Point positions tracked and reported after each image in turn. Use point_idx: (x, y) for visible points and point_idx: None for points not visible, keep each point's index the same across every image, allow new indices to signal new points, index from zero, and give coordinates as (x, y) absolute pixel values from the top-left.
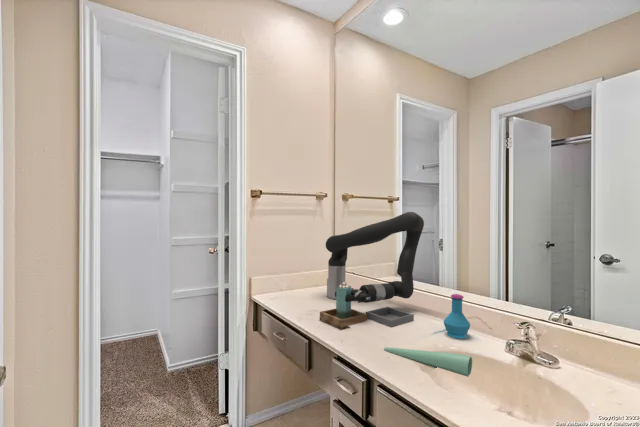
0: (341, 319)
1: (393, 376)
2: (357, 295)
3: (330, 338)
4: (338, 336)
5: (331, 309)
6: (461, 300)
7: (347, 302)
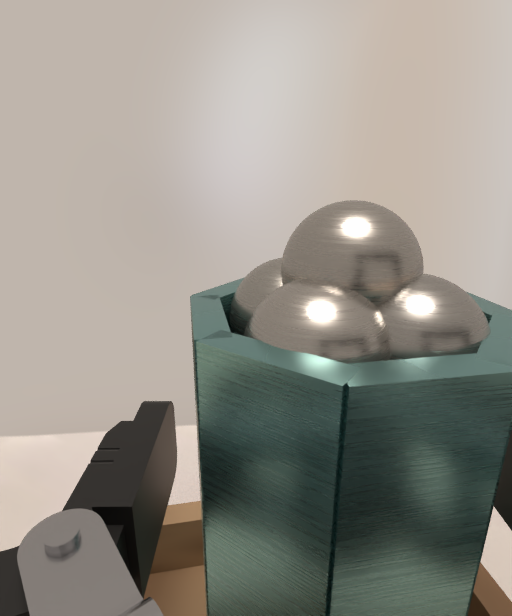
0: None
1: None
2: (28, 603)
3: (59, 457)
4: (37, 500)
5: (507, 601)
6: None
7: (202, 535)
